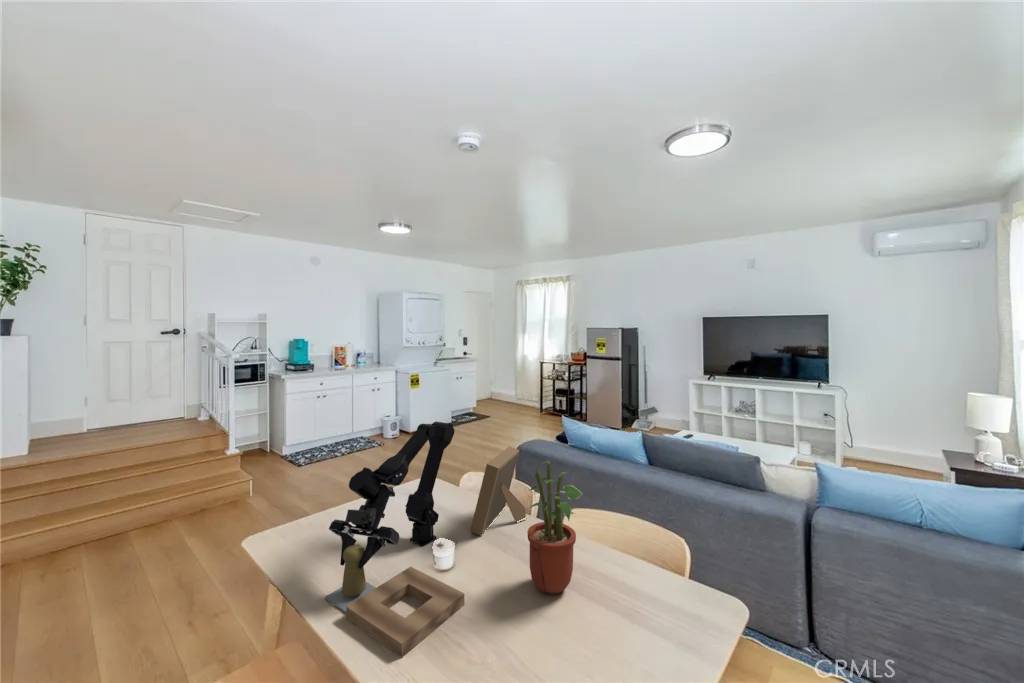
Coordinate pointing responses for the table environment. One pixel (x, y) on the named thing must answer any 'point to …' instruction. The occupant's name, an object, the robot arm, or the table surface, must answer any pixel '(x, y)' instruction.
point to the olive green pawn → (353, 571)
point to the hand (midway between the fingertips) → (350, 566)
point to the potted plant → (552, 538)
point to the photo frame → (497, 491)
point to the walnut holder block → (415, 627)
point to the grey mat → (346, 597)
